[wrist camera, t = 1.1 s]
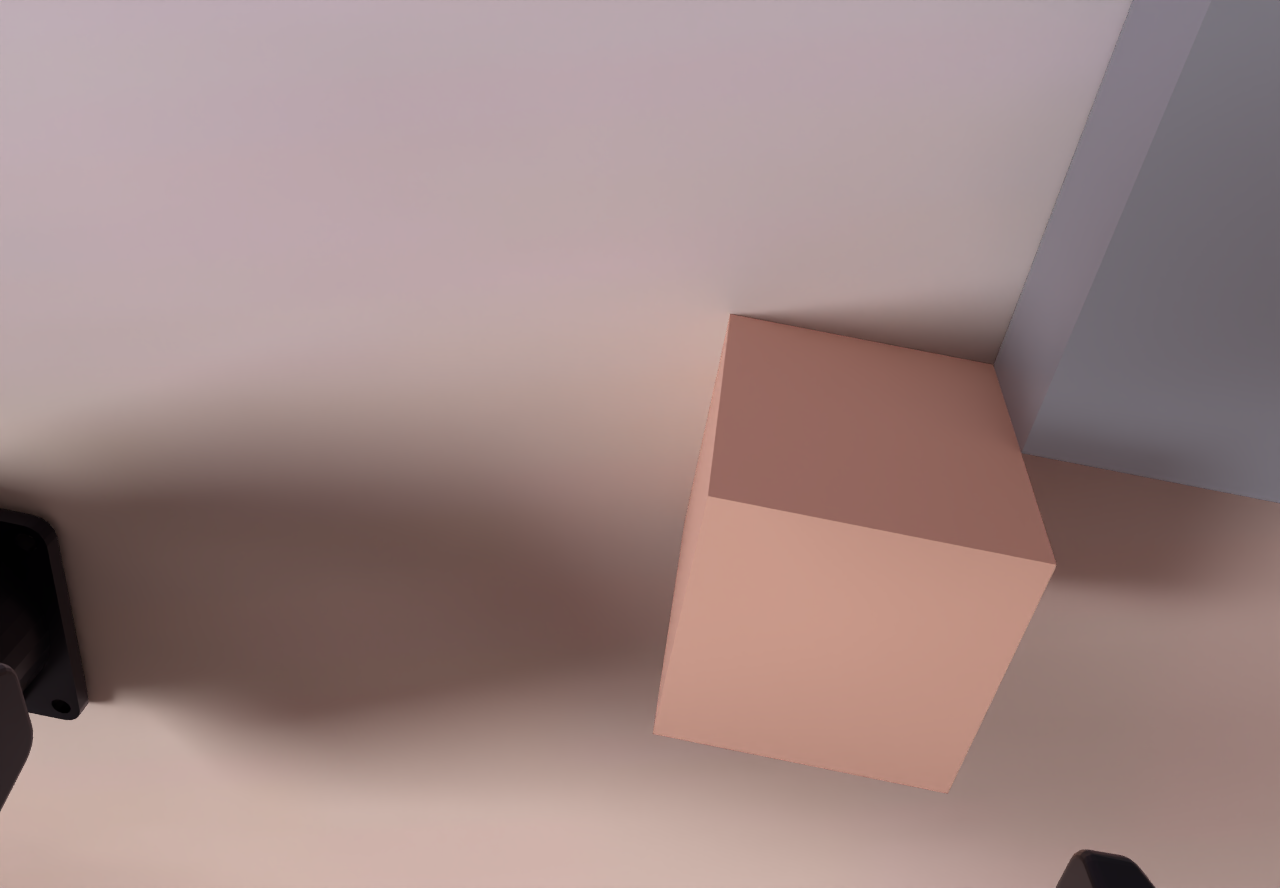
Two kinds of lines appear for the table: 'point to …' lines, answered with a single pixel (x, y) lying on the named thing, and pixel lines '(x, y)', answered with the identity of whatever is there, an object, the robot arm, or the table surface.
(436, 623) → the table surface
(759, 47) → the table surface
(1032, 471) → the table surface
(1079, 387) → the plinth
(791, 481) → the cube
